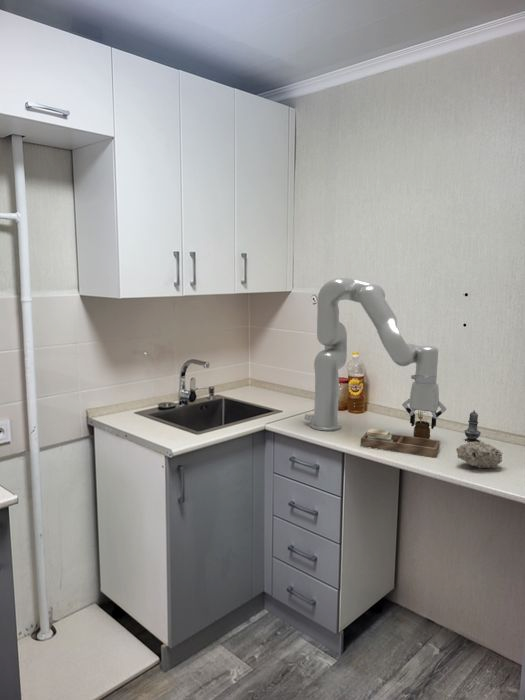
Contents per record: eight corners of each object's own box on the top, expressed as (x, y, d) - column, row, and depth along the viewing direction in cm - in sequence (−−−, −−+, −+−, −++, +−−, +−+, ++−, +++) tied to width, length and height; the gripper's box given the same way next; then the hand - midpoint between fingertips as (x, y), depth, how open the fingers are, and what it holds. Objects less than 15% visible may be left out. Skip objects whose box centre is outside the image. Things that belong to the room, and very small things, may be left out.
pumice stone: (473, 475, 168) (475, 450, 167) (446, 462, 179) (448, 439, 178) (506, 469, 173) (509, 445, 172) (479, 458, 184) (481, 435, 183)
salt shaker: (481, 444, 200) (484, 412, 198) (464, 442, 201) (467, 411, 199) (478, 439, 206) (481, 408, 204) (462, 438, 207) (464, 407, 205)
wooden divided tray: (360, 446, 194) (360, 438, 194) (367, 438, 204) (368, 430, 204) (435, 457, 183) (436, 449, 183) (439, 448, 193) (440, 440, 193)
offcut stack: (364, 446, 195) (364, 432, 194) (368, 441, 201) (369, 427, 200) (389, 450, 191) (390, 435, 190) (393, 445, 197) (393, 430, 196)
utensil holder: (431, 440, 203) (433, 409, 201) (426, 444, 198) (428, 412, 196) (416, 437, 206) (418, 406, 205) (410, 441, 201) (412, 409, 200)
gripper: (400, 379, 199) (397, 426, 201) (449, 383, 192) (446, 432, 195) (403, 375, 206) (400, 421, 208) (451, 380, 199) (448, 427, 201)
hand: (422, 426), depth 201 cm, fingers open, 6 cm apart
